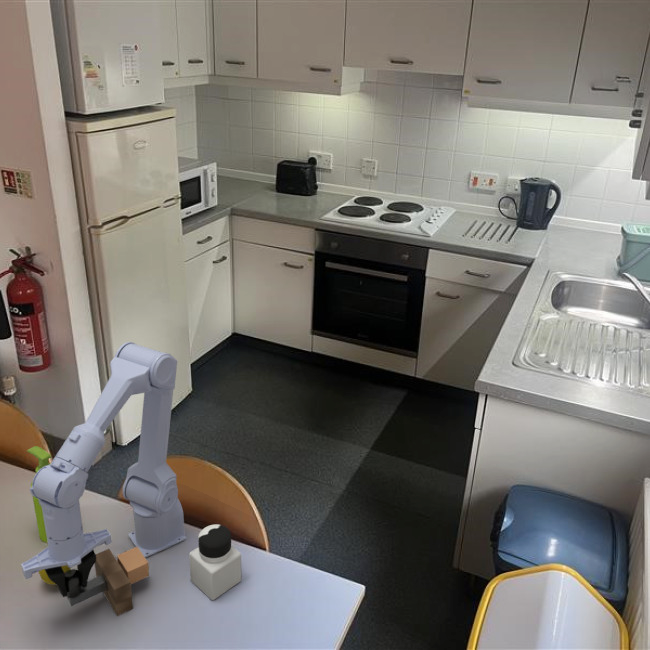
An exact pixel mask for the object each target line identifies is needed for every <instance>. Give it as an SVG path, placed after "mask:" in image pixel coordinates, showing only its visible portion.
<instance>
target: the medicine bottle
mask: <svg viewBox="0 0 650 650" xmlns="http://www.w3.org/2000/svg"><path fill="white" fill-rule="evenodd" d="M197 537H198V547H197V548H194V549H193V550H191V551H190V552H189V555H188V557H189V558H188V559H189V574H190V575H189V576H190V581H191V582H192V583H193V584H194V585H195V586H196V587H198V589H199V590H200V591H202V592H203V593H204V594H205V595H206V597H208V598H209V599H210V600H211V601H215V600H216V599H218V598H219V597H221V596H222V595H223V594H224V593H226V592H227V591H229V590H230V589H231V588H233V587H234V586H236V585H237V584H240V582H241V581H242V553H241V552H240V551H239V550H237V549H236V548H235V547H233V545H232V532H231V531H230V529H229V528H228V527H226V526H225V525H222V524H218V523H217V524H211V525H208V526H206V527H204V528H203V529H201V531H200V532H199V534H198V536H197Z"/></svg>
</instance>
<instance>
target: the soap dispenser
mask: <svg viewBox="0 0 650 650" xmlns="http://www.w3.org/2000/svg"><path fill="white" fill-rule="evenodd" d="M26 452H27V453H29V454H31V455H32V456H34V457H35V458H36V459H37V460H38V464H39V465H37V466H36V467H35V474H36V473H37V472H38V471H39V470H40V469H41V468H43V467H44V466H48V465H50V464H51V463H50V462H49V459H51V458H52V455H51V454H50V453H49V452H47V451H46V450H45V449H43V448H42V447H40V446H37V445H36V446H35V445H34V446H33V447H31V448H29V449H27V450H26ZM32 482H33V480H32V481H31V484H30V488H31V487H32ZM31 496H32V500H33V507H34V512H35V518H36V524H37V531H38V536H39V539H40V540H41V541H42V542H43V543H47V544H48V542H47V536H46V530H45V524H44V518H43V512H42V506H41V505H39V500H38V498H36V497H34V496H33V495H32V494H31Z"/></svg>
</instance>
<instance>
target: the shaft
mask: <svg viewBox="0 0 650 650" xmlns="http://www.w3.org/2000/svg"><path fill="white" fill-rule="evenodd" d="M149 569H150V568H149ZM149 569H148V570H149ZM149 571H150V570H149ZM124 573H125V572H124ZM65 586H66V590H67V596H65V597H66V598H67V601H68V603H69V605H70V607H71V608H72V607H74V606H77V604H81V603H83V602H85V601H86V600H89V599H90V598H93V597H96V596H98V595H99V594H102V593H103V592H104V591H106V590H108V587H107V581H106V579H105V578H104V576H103V575H101V576H98V577H94V578H93V579H92V578H91V579H90V580H88V581H87V587H85V588H83V587H82V585H81V578H80V572H79V571H78V569H75V568H72V569H71V568H70V570H68V571H67V572H65Z"/></svg>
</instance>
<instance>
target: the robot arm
mask: <svg viewBox="0 0 650 650" xmlns="http://www.w3.org/2000/svg"><path fill="white" fill-rule="evenodd" d="M109 363H110V364H109V365H110V366H109V367H110V368H109V369H110V376H109V378H108V380H107V382H106V383H105V386H104V388H103V390H102V392H101V394H100V395H99V396H98V399H97V401H96V402H95V404H94V406H93V408H92V410H91V412H90V414H89V415H88V417H87V419H86V421H85V422H84V423H81V424H78V425H75V426H74V427H73V428H72V430H71V432H70V433H69V435H68V436H67V437H66V439H65V441H64V442H63V445H61V447H60V449H59V450H58V451H57V453H56V455H55V456H54V457H53V459H52V461H51V464H50V465H48V466H44V467H43V468H41V469H40V470H39V471H38V472H37V473H36V472H35V475H34V476H33V479H32V481H33V482H32V481H31V483H32V487H31V486H30V488H29V493H30V494H31V496H32V495H33V496H34V497H36V498H38V500H39V505H41V506H42V512H43V518H44V524H45V530H46V536H47V542H48V543H47V547H45V548H44V549H42V550H41V551H40V552H38V553H37V554H36V555H34V556H33V557H31V558H30V559H28V560H26V561H24V562H22V563H20V565H21V566H20V567H21V571H22V574H23V577H24V579H25V580H28V579H31V578H32V577H33V574H36V573H39V571H40V570H43V569H45V571H46V573H47V575H48V577H49V579H50V580H51V581H52V582H54V583H55V585H56V587H58V589H59V592H60V594H61V597H62V598H65V597H66V596H67V590H66V586H65V573H64V571H63V569H62V566H64V565H68V567H69V568H70V569H71V568H72V569H73V568H75V567H77V569H76V570H78V571H79V572H80V578H81V585H82V587H83V588H85V587H87V581H89V577H90V574H91V570H92V568H93V566H95V562H96V554H97V553H96V552H95V550H94V549H96V548H97V547H100V546H102V545H105V546H108V545H111V544H112V534H111V533H110V531H109V530H108V529H107V528H103V529H102V530H98V531H93V532H88V533H86V532H85V533H84V528H83V527H84V525H83V520H82V519H83V518H82V512H81V506H80V505H81V504H80V499H81V497H82V496H83V495H84V492H85V491H86V483H87V480H88V478H89V473H88V472H89V470H90V469H91V467H92V465H93V464H94V462H95V460H96V459H97V457H98V455H99V454H100V452H101V450H102V449H103V447H104V445H106V439H105V431H107V429H108V428H109V426H110V425H111V423H112V422H113V421H114V419H116V417H117V415H118V414H119V413H120V411H121V410H122V409H123V407H124V406H125V404H126V403H127V402H128V400H129V399H130V398H131V397H132V396H134V395H140V394H144V395H143V405H142V406H143V407H142V412H141V413H142V415H141V416H142V417H141V426H140V437H139V446H138V447H139V448H138V457H137V458H138V459H137V460H138V461H137V462H135V463H134V464H132V465H130V466H129V467H128V468H127V471H126V472H127V473H126V477H125V479H124V483H123V484H122V497H123V498H124V499H125V500H127V501H129V506H130V507H131V508H132V513H133V523H134V531H131V532H129V533H128V535H127V536H128V538H129V540H130V541H131V542H132V543H133V545H134V548H135V547H138V548H139V550H140V551H141V553H142V554H143V556H144V557H145V558H148V557H151V556H153V555H155V554H157V553H160V552H162V551H164V550H166V549H168V548H171V547H173V546H175V545H177V544H179V543H181V542H183V541H186V539H187V537H186V535H185V524H184V523H185V520H184V511H183V507H182V504H181V502H180V500H179V498H178V497H179V490H178V485H177V477H178V476H177V474H176V473H175V472H174V470H172V468H171V467H170V465H169V464H168V463H167V457H168V456H167V455H168V447H169V436H170V429H171V428H170V427H171V426H170V424H171V416H172V407H173V406H172V405H173V396H174V390H175V388H176V380H177V379H176V377H177V369H178V367H177V366H178V360H177V359H176V358H175V357H174V356H173V355H172V354H170V353H168V352H162V351H160V350H156V349H153V348H151V347H150V348H149V347H146V346H143V345H139V344H137V343H135V342H133V341H126V342H124V343H123V344H121V345H120V346H119V347H118V349H117V351H116V352H115V354H114V357H113V358H112V360H111V361H110V362H109ZM33 496H32V497H33Z"/></svg>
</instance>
